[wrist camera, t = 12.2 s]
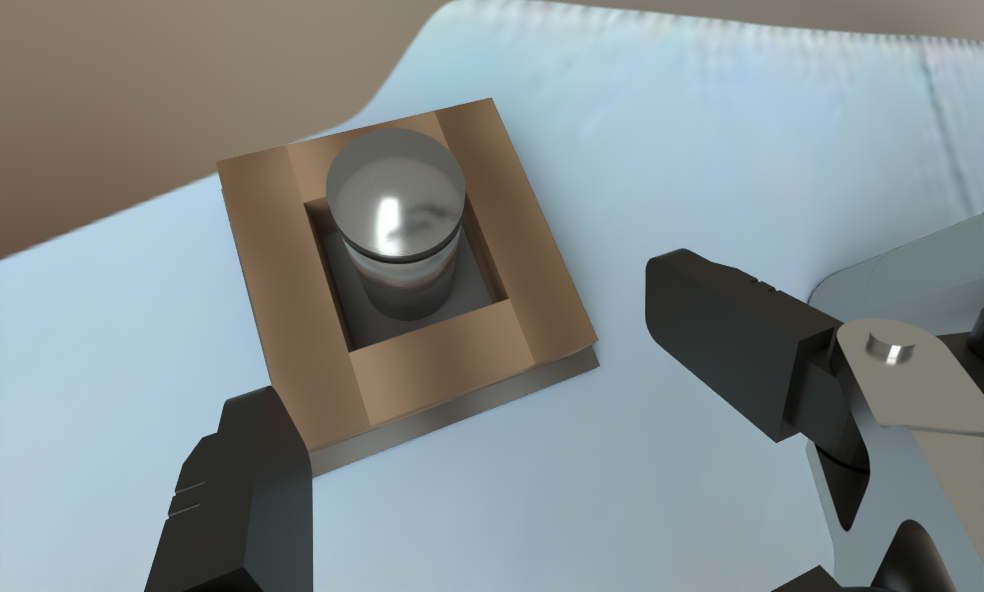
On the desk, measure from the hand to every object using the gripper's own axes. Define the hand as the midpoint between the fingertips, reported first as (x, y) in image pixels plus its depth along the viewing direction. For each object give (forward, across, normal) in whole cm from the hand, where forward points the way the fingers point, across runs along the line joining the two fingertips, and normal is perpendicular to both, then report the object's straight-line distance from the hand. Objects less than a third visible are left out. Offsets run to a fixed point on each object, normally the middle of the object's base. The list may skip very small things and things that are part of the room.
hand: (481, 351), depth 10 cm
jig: (+14, 0, +5) cm, 15 cm away
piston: (+14, 0, +5) cm, 14 cm away
